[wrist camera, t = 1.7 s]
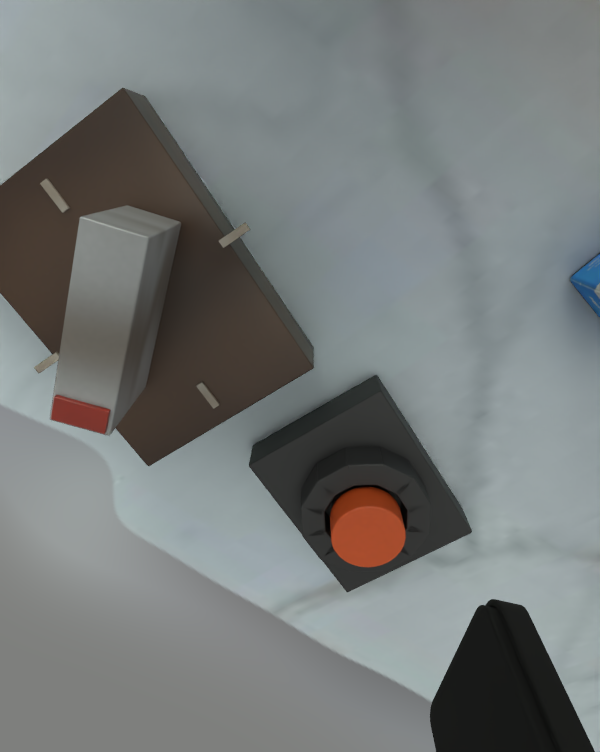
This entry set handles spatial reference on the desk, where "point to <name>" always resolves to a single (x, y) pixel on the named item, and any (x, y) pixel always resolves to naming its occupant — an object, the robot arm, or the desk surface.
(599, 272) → the ink box
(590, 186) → the desk surface
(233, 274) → the base
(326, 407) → the button block
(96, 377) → the spout
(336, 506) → the button
